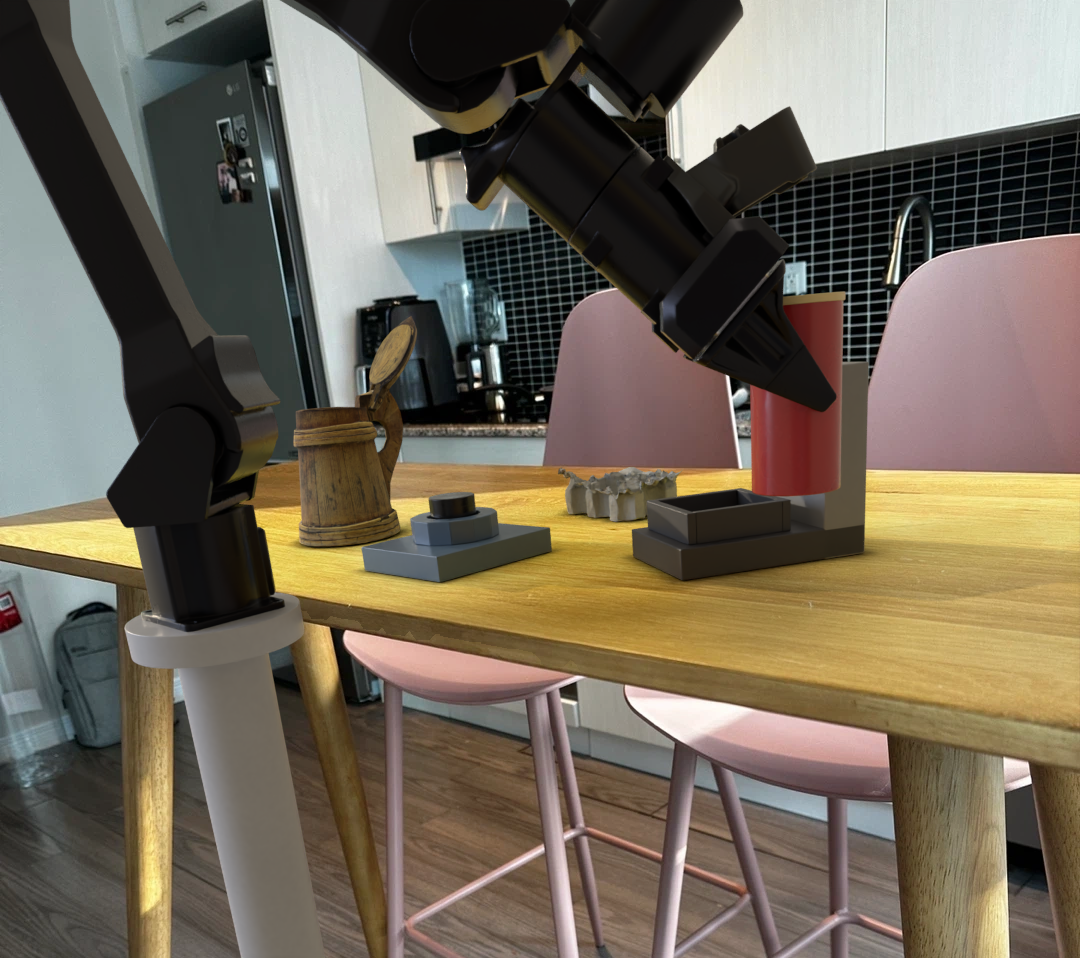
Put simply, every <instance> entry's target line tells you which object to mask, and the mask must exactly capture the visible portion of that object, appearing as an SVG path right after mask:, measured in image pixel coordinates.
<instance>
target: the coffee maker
mask: <svg viewBox="0 0 1080 958" xmlns="http://www.w3.org/2000/svg"><path fill="white" fill-rule="evenodd" d="M869 364H870V363H869V361H842V420H841V484H840V488H839V489H837V490H834V491H831V492H827V493H821V494H814V495H804V496H764V495H758V494H755V493H753V492H752V489H747V488H742V487H737V488H731V489H723V490H716V491H710V492H709V491H708V492H700V493H693V494H685V495H677V497H670V498H662V499H655V500H647V515H646V516H647V518H646V519H647V526H645V527H639V528H633V529H631V544H632V557H633V558H635V559H636V560H639V561H641V562H643V563H645V564H647V565H649V566H652V567H654V568H655V569H658V570H660V571H662V572H664V573H666V574H668V575H670V576H672V577H673V578H676V579H678V580H681V581H689V580H695V579H702V578H709V577H715V576H722V575H727V574H735V573H743V572H747V571H754V570H755V571H756V570H761V569H768V568H774V567H781V566H786V565H787V566H788V565H794V564H801V563H807V562H814V561H820V560H821V561H822V560H828V559H834V558H841V557H848V556H853V555H860V554H864V553H865V547H866V546H865V543H866V542H865V541H866V540H865V539H866V535H865V534H866V501H867V500H866V498H867V497H866V495H867V493H866V492H867V455H868V454H867V452H868V408H869V407H868V406H869V366H870V365H869Z"/></svg>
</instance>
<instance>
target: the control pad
mask: <svg viewBox="0 0 1080 958" xmlns="http://www.w3.org/2000/svg"><path fill="white" fill-rule="evenodd" d="M476 514H477V515H473V516H468V517H463V518H455V519H438V520H436V519H431V516H430V511H427V512H423V513H419V514H416V515H414V516H412V517H410V518H409V520H410V521H409V522H410V529H411V535H405V536H403V537H398V538H394V539H390V540H386V541H381V542H376V543H373V544H368V545H364V546H361V554H362V555H361V556H362V559H363V561H362V562H363V567H364V571H366V572H372V573H377V574H384V575H389V576H390V575H392V576H397V577H404V578H410V579H417V580H422V581H423V580H424V581H430V582H437V583H443V582H446V581H451V580H453V579H456V578H461V577H464V576H468V575H471V574H474V573H479V572H482V571H485V570H490V569H492V568H496V567H500V566H503V565H504V566H505V565H507V564H511V563H514V562H518V561H522V560H524V559H529V558H531V557H532V558H533V557H535V556H539V555H542V554H546V553H551V552H553V547H552V546H553V545H552V535H551V527H549V526H548V527H547V526H537V525H524V524H513V523H503V522H499V517H498V510H496V509H495V508H493V507H488V506H487V507H485V506H476Z"/></svg>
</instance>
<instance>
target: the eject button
mask: <svg viewBox="0 0 1080 958" xmlns="http://www.w3.org/2000/svg"><path fill="white" fill-rule="evenodd" d="M476 507H477V506H476V497H475V493H473V492H471V491H458V492H457V491H456V492H454V491H453V492H445V493H439V494H435V495H431V496H429V497H428V508H429V512H430V516H431V519H436V520H438V519H455V518H463V517H468V516H473V515H477V514H476Z"/></svg>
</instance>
